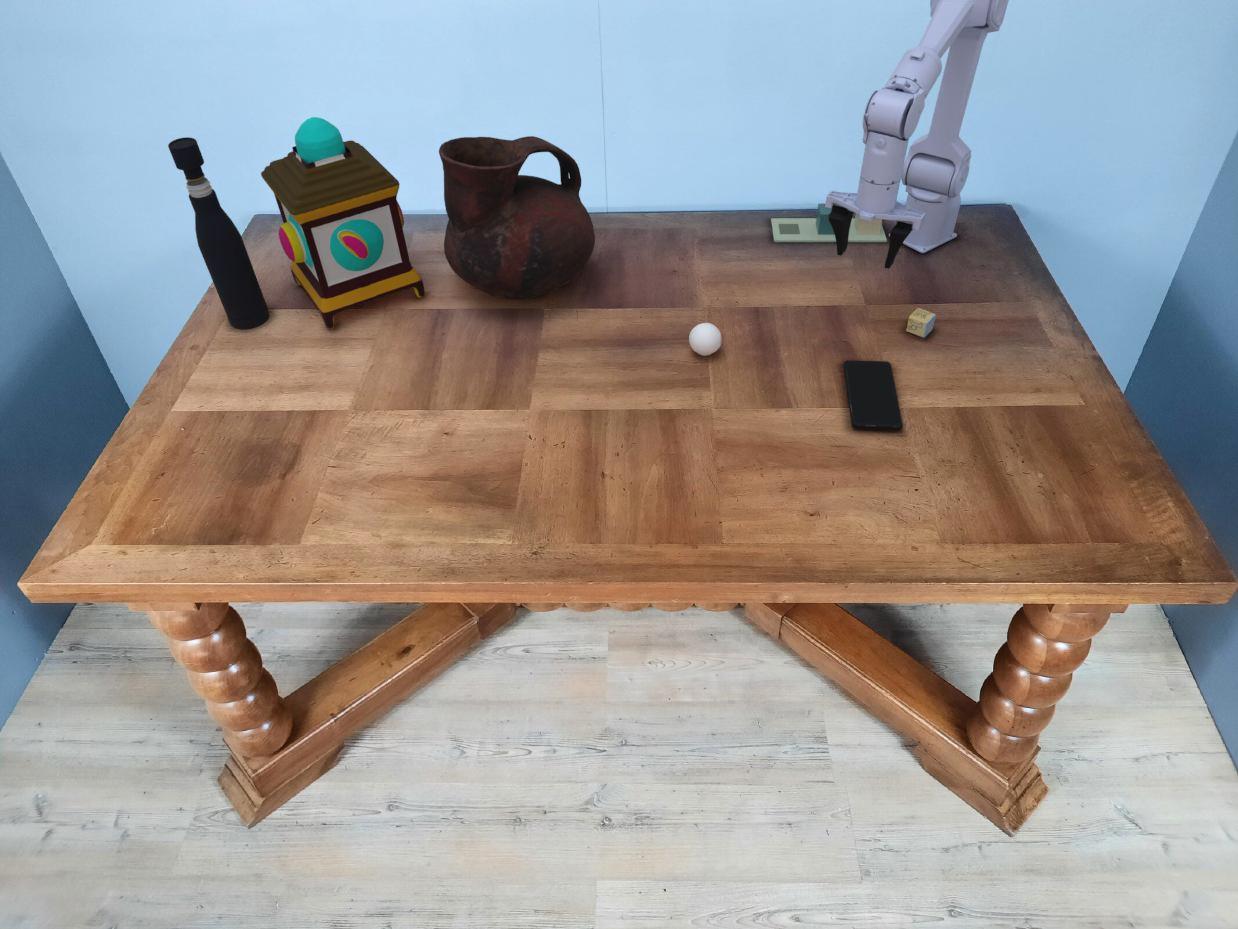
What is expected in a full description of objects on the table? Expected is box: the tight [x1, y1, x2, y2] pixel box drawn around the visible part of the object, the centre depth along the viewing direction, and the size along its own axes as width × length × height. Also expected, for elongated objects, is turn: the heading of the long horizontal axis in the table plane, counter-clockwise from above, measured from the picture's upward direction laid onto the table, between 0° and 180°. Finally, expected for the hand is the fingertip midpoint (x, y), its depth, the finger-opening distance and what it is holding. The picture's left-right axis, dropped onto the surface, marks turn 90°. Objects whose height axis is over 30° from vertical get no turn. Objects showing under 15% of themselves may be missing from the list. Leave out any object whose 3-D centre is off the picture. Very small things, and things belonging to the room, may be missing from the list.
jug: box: [438, 135, 596, 300], centre depth 143 cm, size 25×25×25 cm
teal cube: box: [815, 203, 835, 235], centre depth 159 cm, size 4×4×4 cm
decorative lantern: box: [260, 116, 425, 330], centre depth 140 cm, size 20×20×30 cm
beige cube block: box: [854, 213, 883, 234], centre depth 159 cm, size 4×4×4 cm
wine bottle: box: [167, 136, 270, 330], centre depth 136 cm, size 6×6×30 cm
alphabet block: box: [905, 307, 937, 339], centre depth 137 cm, size 3×3×3 cm
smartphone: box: [843, 359, 904, 432], centre depth 126 cm, size 7×1×15 cm
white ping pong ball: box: [688, 322, 722, 357], centre depth 134 cm, size 5×5×5 cm
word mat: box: [770, 217, 888, 243], centre depth 160 cm, size 20×8×1 cm, turn 87°
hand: (865, 258), depth 136 cm, fingers open, 7 cm apart
